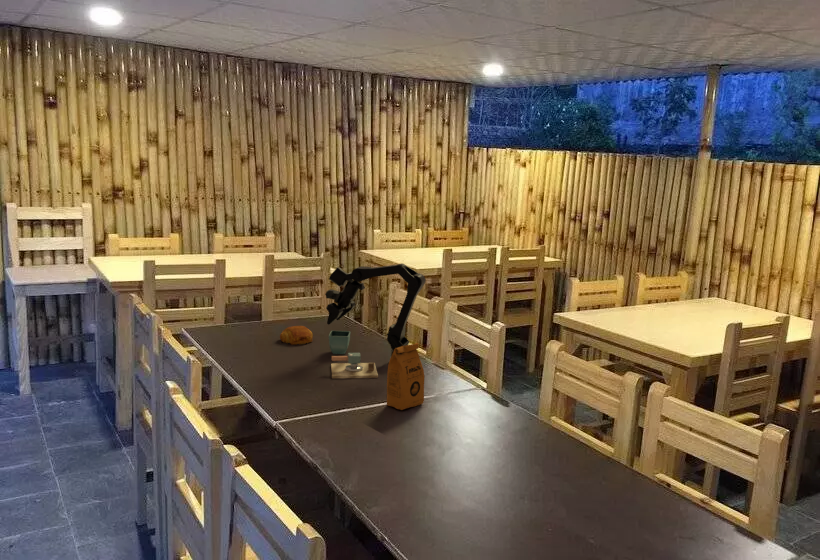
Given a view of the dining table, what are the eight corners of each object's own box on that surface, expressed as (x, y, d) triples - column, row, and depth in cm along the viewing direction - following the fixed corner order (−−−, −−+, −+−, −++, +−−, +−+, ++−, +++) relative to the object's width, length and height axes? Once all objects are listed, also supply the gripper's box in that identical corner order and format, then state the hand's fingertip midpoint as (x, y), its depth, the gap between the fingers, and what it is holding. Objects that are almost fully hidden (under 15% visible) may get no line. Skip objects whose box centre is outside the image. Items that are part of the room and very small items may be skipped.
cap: (359, 359, 268) (359, 351, 267) (360, 363, 263) (360, 355, 263) (331, 360, 266) (331, 352, 266) (331, 363, 262) (331, 355, 261)
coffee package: (428, 405, 232) (430, 345, 228) (400, 413, 224) (402, 351, 220) (409, 397, 239) (411, 339, 235) (382, 405, 231) (384, 344, 227)
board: (374, 365, 275) (374, 362, 275) (378, 377, 260) (378, 375, 259) (331, 365, 273) (331, 363, 272) (332, 378, 257) (332, 376, 257)
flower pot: (348, 356, 286) (348, 336, 285) (328, 355, 286) (328, 335, 285) (350, 350, 295) (350, 331, 293) (331, 349, 295) (331, 330, 293)
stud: (362, 366, 270) (362, 359, 269) (363, 371, 263) (363, 364, 262) (345, 366, 269) (345, 359, 268) (345, 372, 262) (345, 364, 261)
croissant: (278, 343, 311) (275, 327, 310) (310, 335, 317) (307, 319, 316) (285, 350, 298) (283, 333, 297) (318, 342, 304) (316, 326, 303)
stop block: (369, 369, 266) (369, 362, 266) (374, 369, 266) (374, 362, 265) (368, 370, 264) (368, 363, 264) (373, 371, 264) (373, 364, 263)
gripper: (342, 279, 292) (326, 307, 296) (324, 285, 274) (308, 315, 279) (363, 292, 290) (346, 321, 294) (346, 300, 272) (329, 330, 277)
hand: (332, 321), depth 286 cm, fingers open, 9 cm apart
